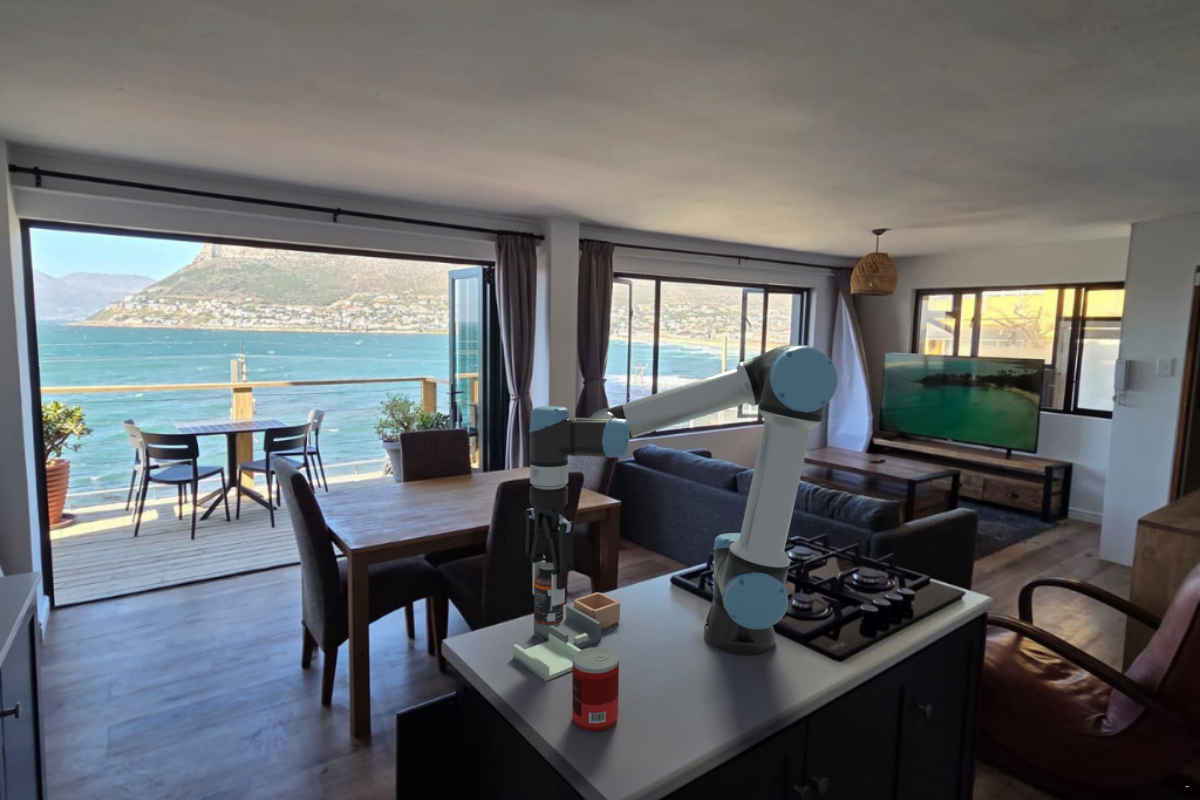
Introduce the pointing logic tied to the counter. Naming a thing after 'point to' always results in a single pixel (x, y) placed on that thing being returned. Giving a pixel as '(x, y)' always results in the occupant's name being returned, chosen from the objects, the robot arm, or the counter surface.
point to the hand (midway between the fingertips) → (548, 598)
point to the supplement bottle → (545, 598)
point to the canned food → (595, 688)
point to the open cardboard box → (599, 608)
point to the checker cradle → (572, 629)
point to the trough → (547, 657)
